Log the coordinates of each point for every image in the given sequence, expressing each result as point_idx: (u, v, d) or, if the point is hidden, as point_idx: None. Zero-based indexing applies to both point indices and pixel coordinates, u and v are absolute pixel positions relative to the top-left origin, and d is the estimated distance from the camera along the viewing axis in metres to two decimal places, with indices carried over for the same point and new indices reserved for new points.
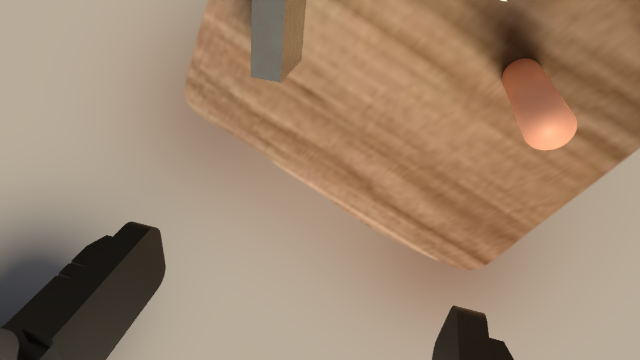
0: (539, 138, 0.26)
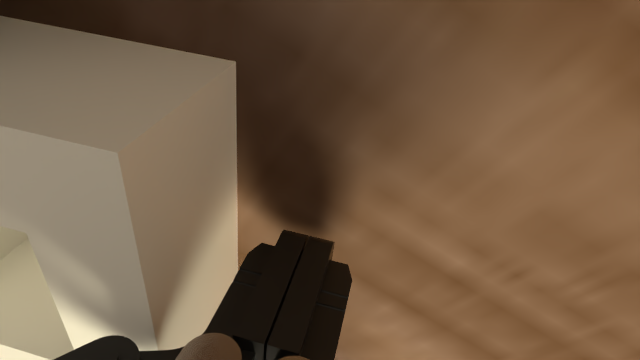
0: None
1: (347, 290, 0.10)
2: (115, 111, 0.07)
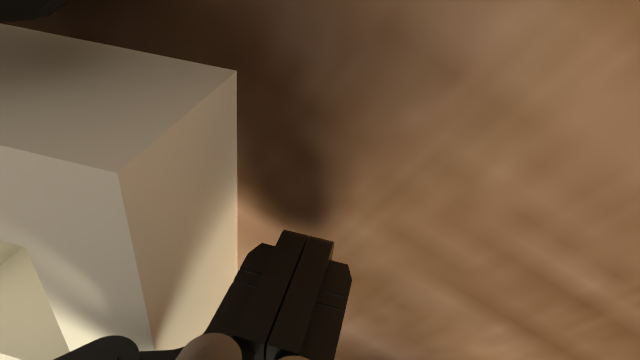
0: None
1: (347, 290, 0.10)
2: (114, 129, 0.08)
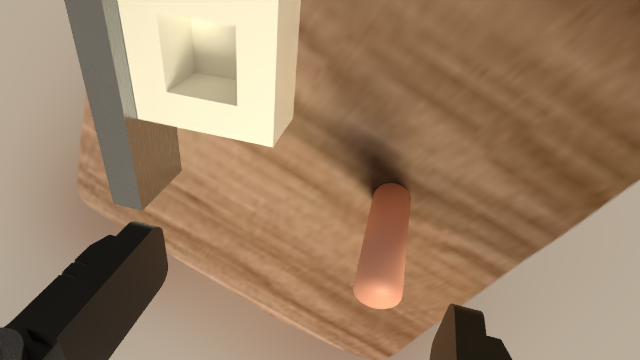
0: (370, 298, 0.25)
1: None
2: None
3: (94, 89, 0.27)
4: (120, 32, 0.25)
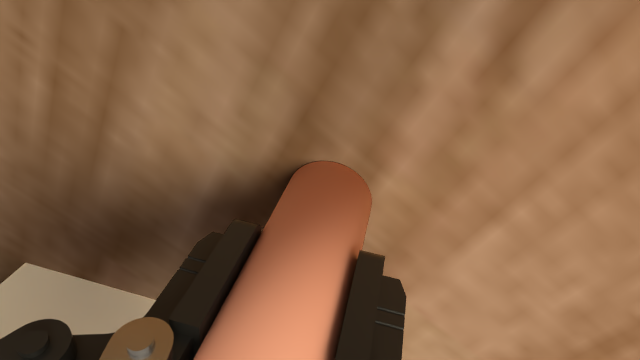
0: None
1: (403, 307, 0.10)
2: None
3: None
4: None
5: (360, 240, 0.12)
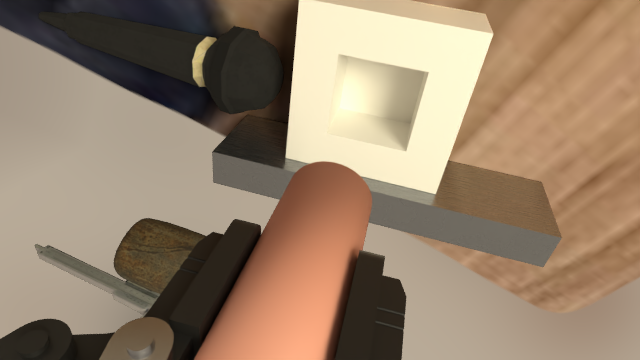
0: None
1: (403, 307, 0.10)
2: None
3: (390, 220, 0.26)
4: None
5: (360, 240, 0.12)
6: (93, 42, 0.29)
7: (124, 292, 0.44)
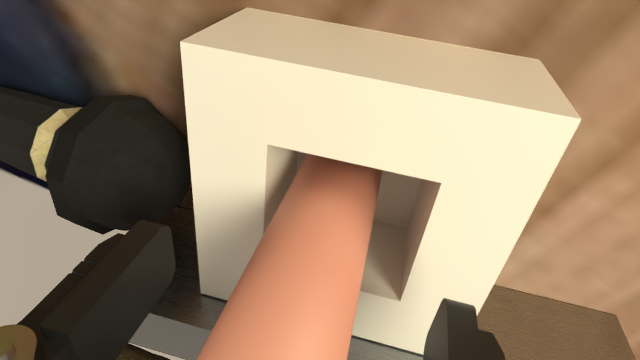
0: None
1: None
2: None
3: None
4: None
5: (375, 192, 0.14)
6: None
7: None
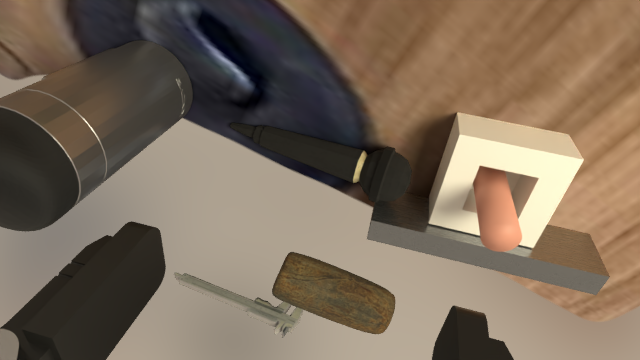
0: (509, 242, 0.32)
1: None
2: (456, 136, 0.36)
3: (493, 264, 0.39)
4: (460, 234, 0.40)
5: None
6: (276, 149, 0.42)
7: (256, 309, 0.56)
